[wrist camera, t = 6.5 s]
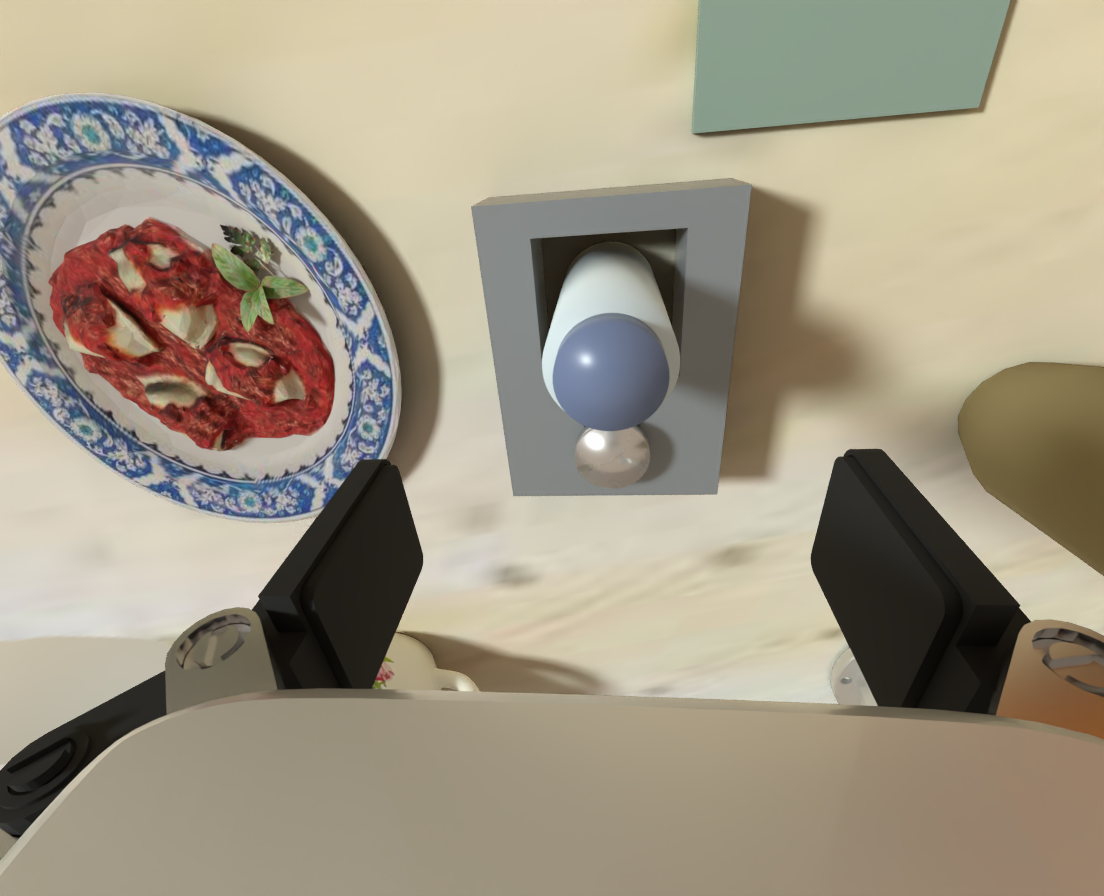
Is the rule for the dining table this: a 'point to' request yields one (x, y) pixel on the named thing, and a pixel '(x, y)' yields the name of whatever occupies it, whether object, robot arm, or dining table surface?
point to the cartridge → (610, 341)
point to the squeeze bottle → (1043, 449)
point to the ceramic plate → (187, 310)
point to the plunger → (612, 456)
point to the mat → (839, 59)
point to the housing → (698, 323)
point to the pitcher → (416, 669)
